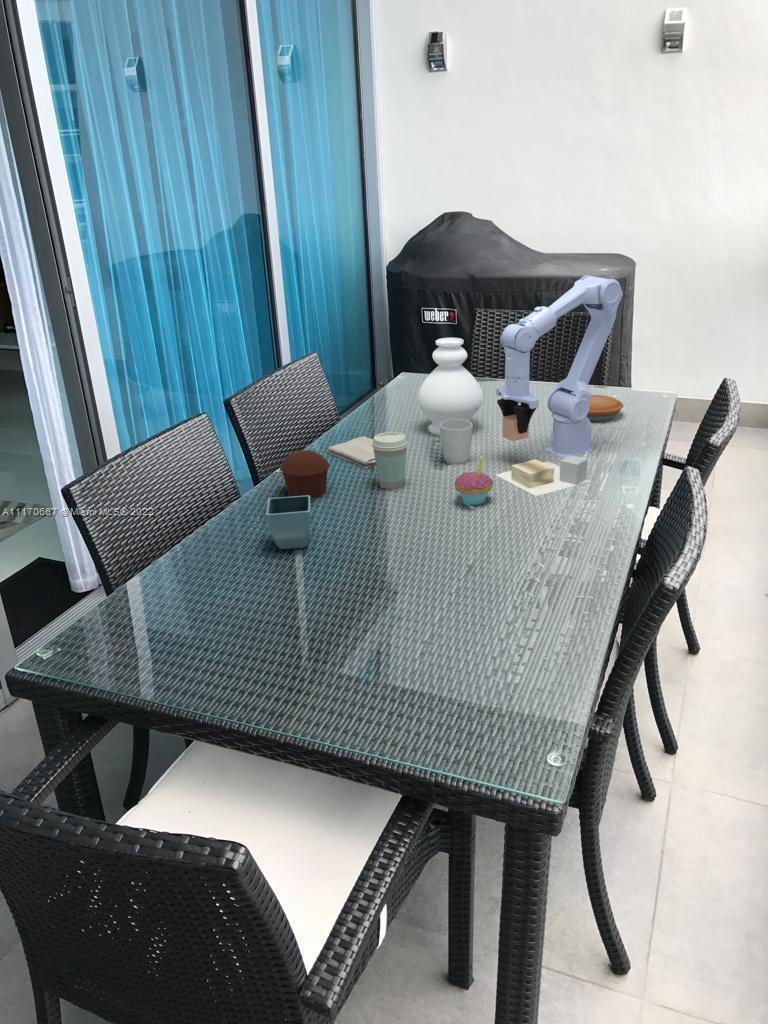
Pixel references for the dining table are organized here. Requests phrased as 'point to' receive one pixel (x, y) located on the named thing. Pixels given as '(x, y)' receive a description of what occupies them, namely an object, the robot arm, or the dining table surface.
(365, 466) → the washcloth
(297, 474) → the muffin
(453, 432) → the cup
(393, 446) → the coffee cup
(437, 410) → the decorative vase
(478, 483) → the cupcake
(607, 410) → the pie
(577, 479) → the grey block
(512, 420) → the terracotta block
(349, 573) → the dining table surface
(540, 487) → the board
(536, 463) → the maple block
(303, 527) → the flower pot
